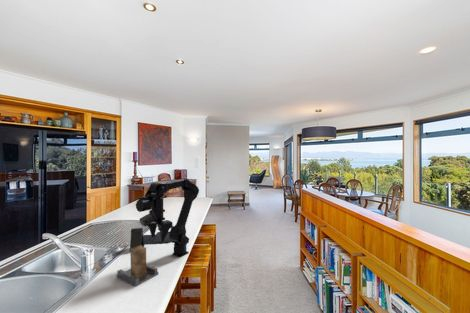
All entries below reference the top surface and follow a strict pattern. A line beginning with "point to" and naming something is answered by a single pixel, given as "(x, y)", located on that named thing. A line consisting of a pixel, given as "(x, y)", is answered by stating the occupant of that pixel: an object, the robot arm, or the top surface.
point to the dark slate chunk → (156, 239)
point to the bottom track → (135, 280)
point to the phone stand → (137, 237)
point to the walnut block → (138, 261)
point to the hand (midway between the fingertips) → (157, 239)
